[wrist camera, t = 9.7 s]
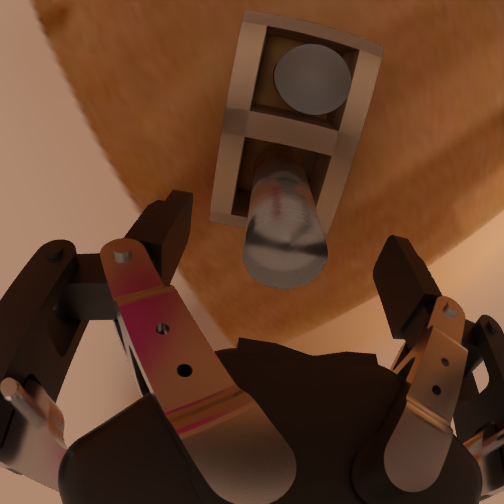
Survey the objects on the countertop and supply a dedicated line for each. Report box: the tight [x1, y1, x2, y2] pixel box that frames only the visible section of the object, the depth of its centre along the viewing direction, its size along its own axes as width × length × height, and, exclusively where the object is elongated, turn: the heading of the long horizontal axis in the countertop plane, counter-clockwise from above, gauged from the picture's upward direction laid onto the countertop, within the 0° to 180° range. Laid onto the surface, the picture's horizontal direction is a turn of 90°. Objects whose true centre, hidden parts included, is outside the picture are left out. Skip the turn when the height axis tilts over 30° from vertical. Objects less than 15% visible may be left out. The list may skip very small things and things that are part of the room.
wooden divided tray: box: [209, 10, 384, 241], centre depth 14 cm, size 12×7×6 cm, turn 169°
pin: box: [243, 144, 328, 289], centre depth 15 cm, size 3×3×10 cm
